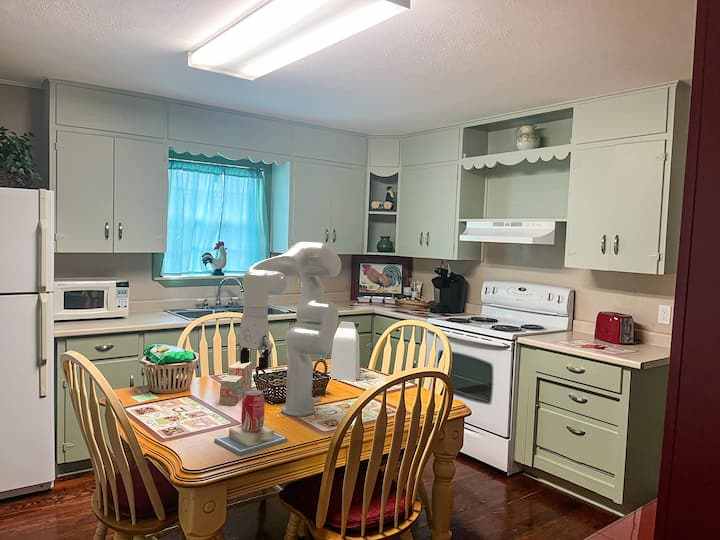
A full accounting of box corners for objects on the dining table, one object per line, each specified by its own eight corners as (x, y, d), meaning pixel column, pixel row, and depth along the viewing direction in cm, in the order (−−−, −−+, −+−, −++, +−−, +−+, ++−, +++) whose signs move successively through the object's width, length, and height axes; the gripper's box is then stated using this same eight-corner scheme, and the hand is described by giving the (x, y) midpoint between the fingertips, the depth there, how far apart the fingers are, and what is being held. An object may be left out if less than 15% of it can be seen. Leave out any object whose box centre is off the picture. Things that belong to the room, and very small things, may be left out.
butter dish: (261, 429, 189) (261, 417, 189) (287, 441, 179) (288, 429, 179) (214, 441, 176) (214, 429, 176) (239, 455, 166) (240, 442, 166)
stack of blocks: (235, 405, 213) (236, 373, 212) (219, 404, 213) (220, 372, 213) (251, 390, 234) (252, 361, 233) (237, 389, 235) (237, 360, 234)
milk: (329, 379, 256) (331, 323, 254) (334, 373, 267) (337, 319, 266) (355, 381, 254) (357, 325, 252) (359, 375, 265) (362, 321, 264)
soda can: (242, 425, 181) (243, 388, 180) (264, 425, 181) (266, 389, 180) (239, 433, 174) (240, 394, 173) (262, 433, 174) (264, 395, 173)
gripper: (229, 309, 178) (228, 362, 179) (262, 316, 166) (260, 373, 167) (249, 307, 184) (247, 359, 185) (282, 314, 172) (280, 370, 173)
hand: (253, 366), depth 176 cm, fingers open, 9 cm apart
